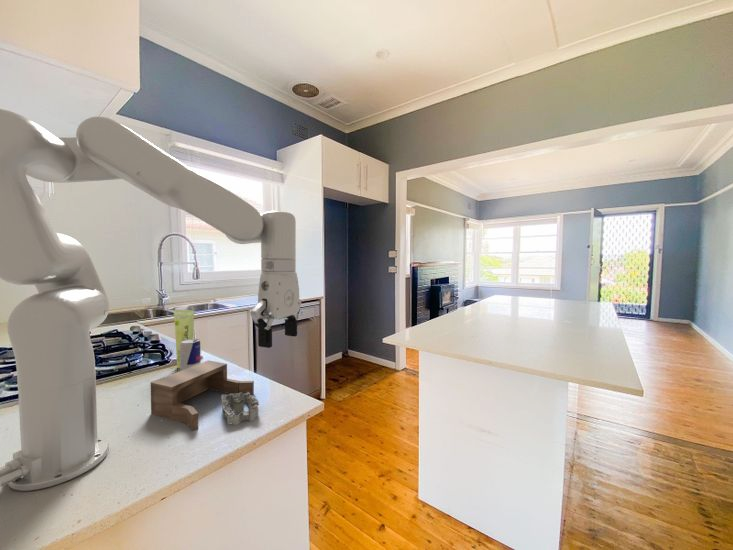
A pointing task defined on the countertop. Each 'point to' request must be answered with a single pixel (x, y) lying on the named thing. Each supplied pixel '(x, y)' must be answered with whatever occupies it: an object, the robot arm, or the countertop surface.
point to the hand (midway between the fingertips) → (278, 340)
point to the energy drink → (189, 353)
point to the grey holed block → (239, 407)
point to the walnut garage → (192, 390)
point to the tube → (183, 328)
